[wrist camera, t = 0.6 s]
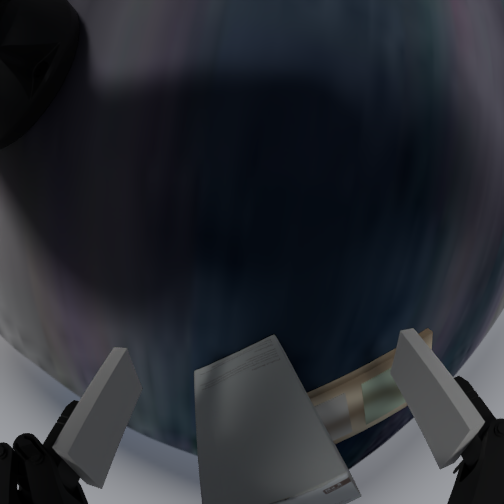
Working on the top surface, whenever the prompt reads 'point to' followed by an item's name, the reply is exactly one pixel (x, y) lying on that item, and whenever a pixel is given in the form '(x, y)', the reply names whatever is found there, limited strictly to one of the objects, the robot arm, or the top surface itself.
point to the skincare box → (264, 434)
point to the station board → (360, 397)
